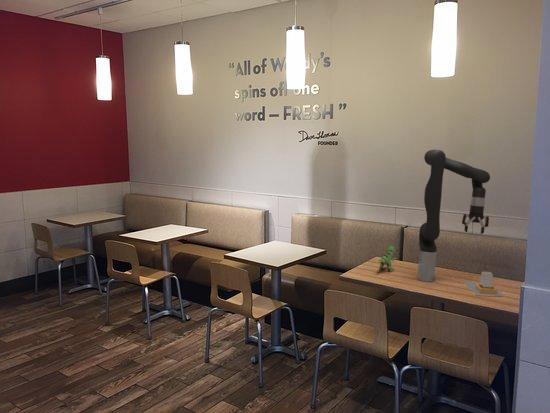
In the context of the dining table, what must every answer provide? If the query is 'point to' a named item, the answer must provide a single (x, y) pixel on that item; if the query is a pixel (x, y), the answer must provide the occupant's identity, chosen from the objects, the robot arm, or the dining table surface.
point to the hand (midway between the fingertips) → (473, 232)
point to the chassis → (482, 289)
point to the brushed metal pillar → (486, 280)
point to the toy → (387, 260)
